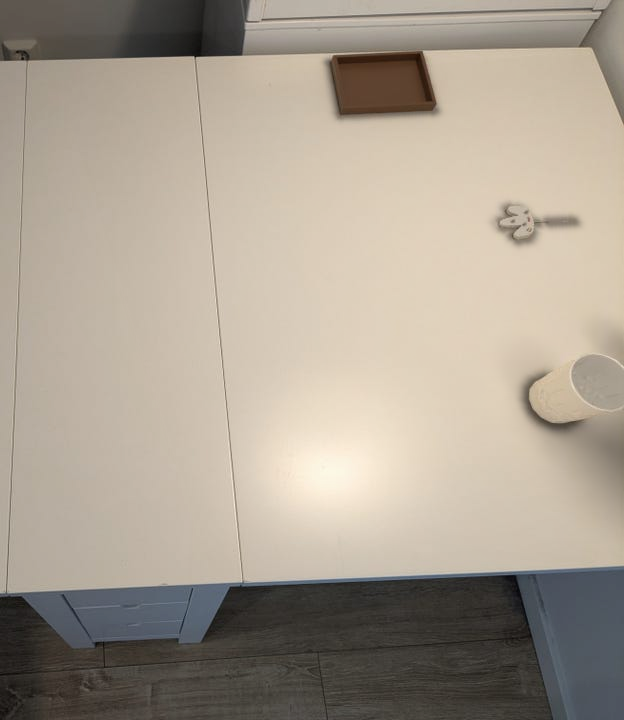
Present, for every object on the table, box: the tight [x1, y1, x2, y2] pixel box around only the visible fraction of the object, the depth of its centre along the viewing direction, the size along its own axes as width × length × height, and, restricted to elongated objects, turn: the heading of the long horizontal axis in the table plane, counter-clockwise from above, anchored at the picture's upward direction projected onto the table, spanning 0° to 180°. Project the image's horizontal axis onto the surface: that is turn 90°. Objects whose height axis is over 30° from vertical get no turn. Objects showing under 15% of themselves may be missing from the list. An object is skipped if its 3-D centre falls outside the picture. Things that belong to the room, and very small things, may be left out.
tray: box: [330, 50, 438, 116], centre depth 99 cm, size 12×16×2 cm
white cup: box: [528, 352, 624, 424], centre depth 76 cm, size 8×8×10 cm
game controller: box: [498, 205, 569, 240], centre depth 90 cm, size 6×12×3 cm, turn 109°
